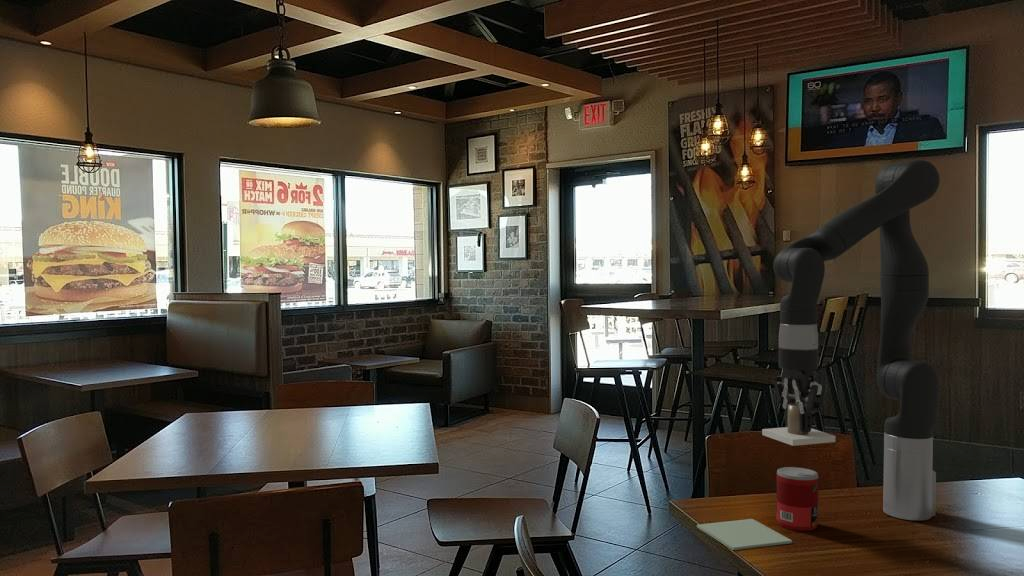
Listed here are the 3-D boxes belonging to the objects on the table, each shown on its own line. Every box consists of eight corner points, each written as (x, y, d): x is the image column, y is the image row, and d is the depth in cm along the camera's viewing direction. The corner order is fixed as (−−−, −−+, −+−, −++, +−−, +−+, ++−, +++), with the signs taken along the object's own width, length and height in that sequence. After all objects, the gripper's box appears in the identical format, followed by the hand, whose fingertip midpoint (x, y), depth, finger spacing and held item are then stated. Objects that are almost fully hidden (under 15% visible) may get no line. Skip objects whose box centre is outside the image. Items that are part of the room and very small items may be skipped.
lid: (802, 431, 161) (802, 399, 161) (835, 441, 151) (835, 408, 151) (762, 434, 158) (762, 402, 158) (792, 445, 149) (792, 411, 148)
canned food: (821, 532, 151) (821, 478, 150) (779, 529, 152) (779, 475, 152) (813, 520, 158) (814, 468, 158) (773, 517, 160) (774, 465, 159)
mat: (752, 521, 157) (752, 518, 157) (792, 543, 145) (792, 540, 145) (696, 527, 154) (696, 524, 154) (732, 550, 141) (732, 547, 141)
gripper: (837, 348, 148) (837, 435, 149) (791, 341, 162) (791, 421, 163) (805, 350, 146) (805, 438, 147) (761, 343, 160) (761, 423, 160)
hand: (798, 429), depth 155 cm, fingers closed on lid, 4 cm apart
